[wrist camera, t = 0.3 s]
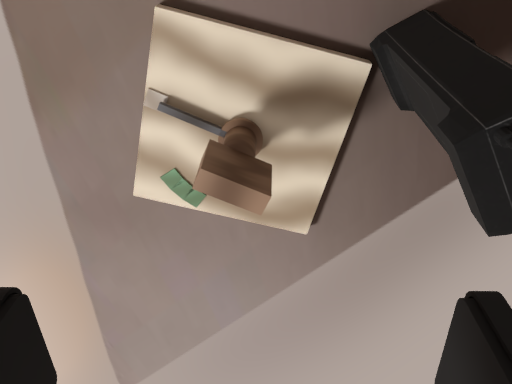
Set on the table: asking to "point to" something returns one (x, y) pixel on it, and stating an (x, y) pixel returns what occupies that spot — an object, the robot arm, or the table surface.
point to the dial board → (244, 112)
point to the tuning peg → (231, 162)
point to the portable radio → (456, 106)
